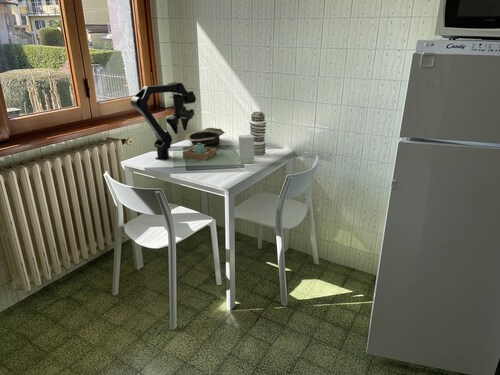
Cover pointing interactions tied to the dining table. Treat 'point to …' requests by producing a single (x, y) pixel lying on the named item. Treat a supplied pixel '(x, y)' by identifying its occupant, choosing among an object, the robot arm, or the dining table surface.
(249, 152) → the skincare box
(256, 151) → the decorative candle
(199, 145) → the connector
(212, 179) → the dining table surface
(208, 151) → the walled box
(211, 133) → the stone bowl
